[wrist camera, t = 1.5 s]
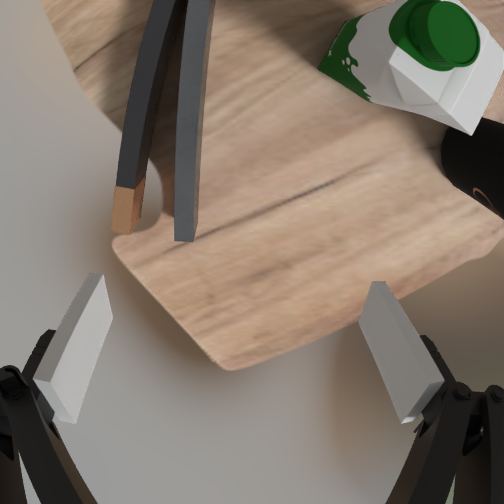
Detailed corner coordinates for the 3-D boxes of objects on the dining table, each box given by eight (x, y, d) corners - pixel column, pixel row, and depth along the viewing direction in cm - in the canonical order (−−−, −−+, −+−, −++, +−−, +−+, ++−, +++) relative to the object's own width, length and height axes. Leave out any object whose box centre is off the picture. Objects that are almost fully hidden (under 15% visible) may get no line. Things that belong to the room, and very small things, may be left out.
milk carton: (341, 11, 26) (448, -41, 9) (405, 56, 28) (536, 61, 11) (305, 72, 30) (391, 64, 12) (372, 114, 32) (493, 159, 15)
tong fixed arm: (183, -47, 21) (176, -64, 17) (224, -47, 22) (223, -65, 18) (163, 220, 37) (154, 239, 33) (199, 222, 38) (195, 242, 33)
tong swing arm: (171, -13, 24) (162, -26, 19) (190, -11, 24) (184, -24, 20) (124, 213, 36) (111, 231, 32) (140, 216, 37) (129, 235, 32)
